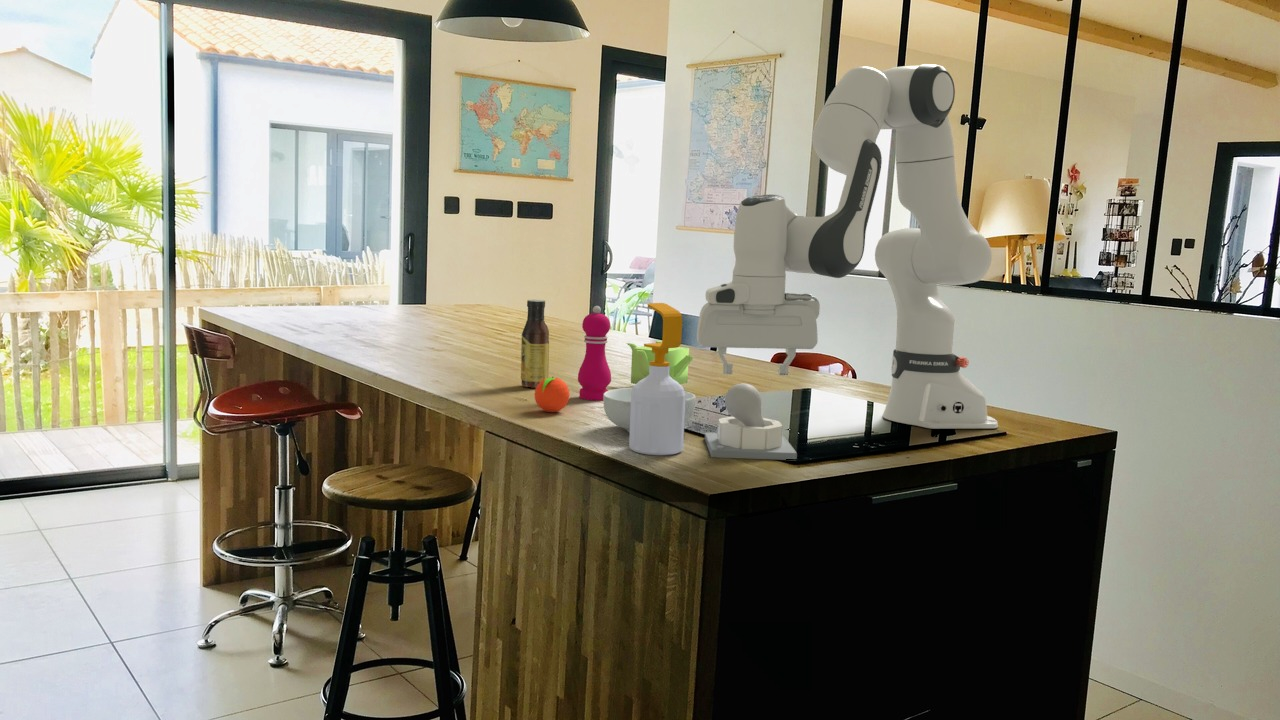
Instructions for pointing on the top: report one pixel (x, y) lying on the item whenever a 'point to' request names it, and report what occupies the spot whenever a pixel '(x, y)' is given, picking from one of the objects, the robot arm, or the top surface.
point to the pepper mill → (595, 357)
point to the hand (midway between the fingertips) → (755, 374)
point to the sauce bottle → (534, 346)
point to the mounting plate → (748, 450)
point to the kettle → (675, 357)
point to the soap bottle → (659, 396)
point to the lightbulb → (745, 404)
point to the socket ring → (749, 434)
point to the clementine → (552, 394)
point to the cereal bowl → (620, 406)
